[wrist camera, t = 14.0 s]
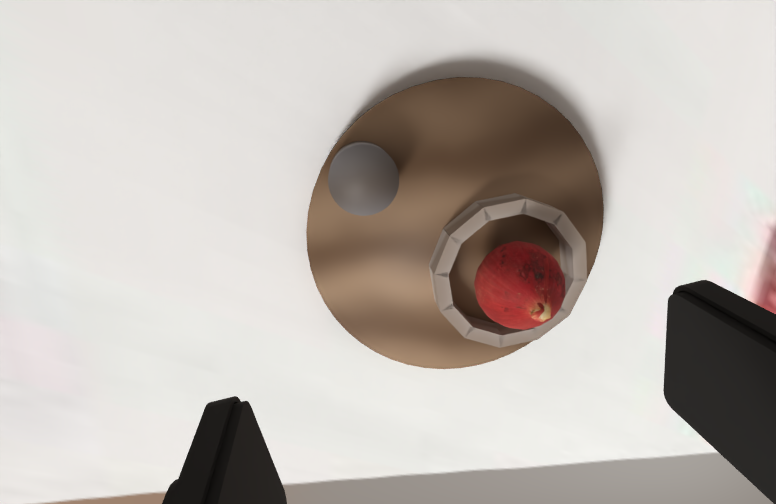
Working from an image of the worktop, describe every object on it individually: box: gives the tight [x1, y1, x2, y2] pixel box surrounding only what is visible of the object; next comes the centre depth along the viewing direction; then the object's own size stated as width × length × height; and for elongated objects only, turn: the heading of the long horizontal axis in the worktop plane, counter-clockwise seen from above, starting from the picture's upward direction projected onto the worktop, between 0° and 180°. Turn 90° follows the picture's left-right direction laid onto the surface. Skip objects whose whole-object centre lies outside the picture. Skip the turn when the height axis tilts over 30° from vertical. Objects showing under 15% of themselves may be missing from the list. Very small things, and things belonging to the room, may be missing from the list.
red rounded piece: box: [474, 241, 566, 330], centre depth 29 cm, size 6×6×8 cm
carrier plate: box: [307, 77, 603, 369], centre depth 31 cm, size 22×22×4 cm
